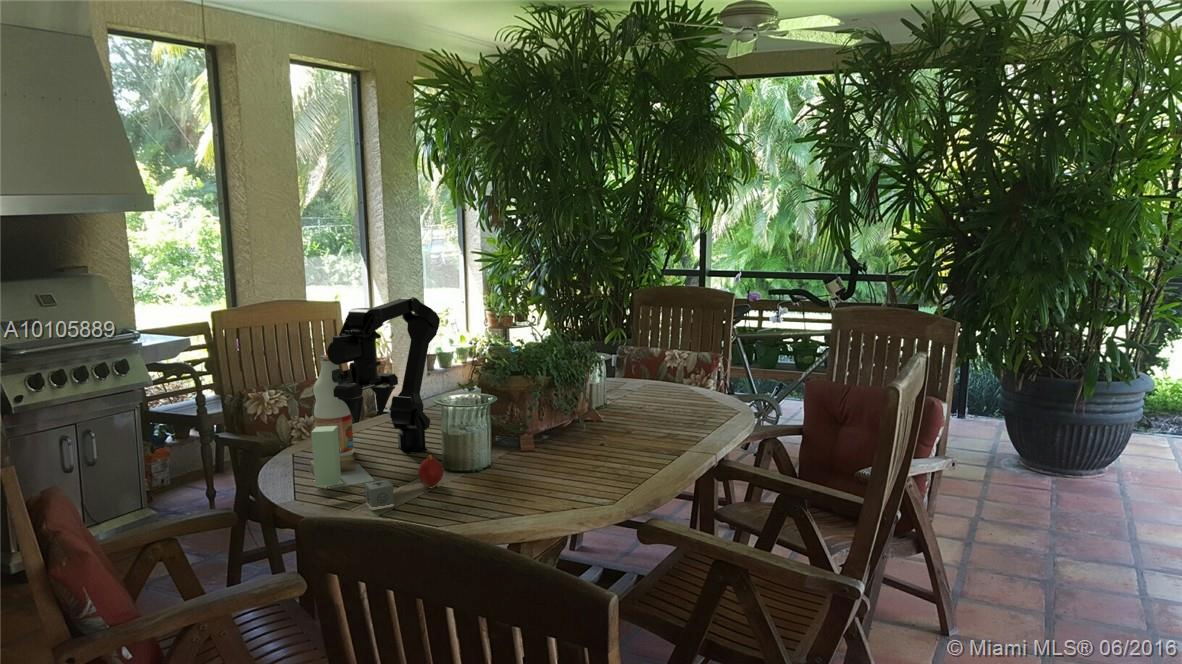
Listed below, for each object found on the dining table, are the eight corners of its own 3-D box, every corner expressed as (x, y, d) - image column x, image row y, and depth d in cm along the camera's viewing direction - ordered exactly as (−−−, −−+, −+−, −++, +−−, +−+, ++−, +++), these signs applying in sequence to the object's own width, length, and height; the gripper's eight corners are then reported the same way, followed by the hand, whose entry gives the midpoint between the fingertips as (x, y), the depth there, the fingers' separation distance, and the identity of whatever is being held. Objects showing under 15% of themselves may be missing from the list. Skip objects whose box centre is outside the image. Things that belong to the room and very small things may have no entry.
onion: (417, 485, 198) (415, 453, 197) (441, 482, 200) (439, 450, 199) (421, 492, 192) (419, 459, 191) (445, 489, 194) (444, 456, 193)
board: (359, 468, 212) (358, 463, 212) (375, 485, 199) (374, 480, 198) (302, 477, 206) (301, 472, 206) (314, 495, 192) (314, 490, 192)
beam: (351, 466, 210) (351, 454, 210) (355, 470, 207) (354, 458, 207) (311, 472, 206) (310, 461, 205) (314, 477, 202) (313, 465, 202)
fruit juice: (313, 457, 224) (306, 355, 220) (348, 451, 229) (341, 351, 225) (323, 465, 216) (315, 359, 212) (358, 459, 221) (352, 355, 217)
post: (341, 477, 201) (337, 425, 199) (336, 484, 196) (332, 431, 194) (319, 478, 200) (316, 426, 198) (314, 485, 195) (311, 431, 194)
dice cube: (388, 500, 188) (386, 479, 187) (394, 507, 183) (393, 485, 183) (365, 504, 185) (364, 483, 185) (371, 511, 181) (370, 489, 180)
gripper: (363, 351, 221) (367, 408, 223) (314, 362, 204) (318, 424, 206) (397, 352, 216) (400, 411, 218) (350, 365, 199) (354, 428, 202)
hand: (368, 418), depth 211 cm, fingers open, 9 cm apart
